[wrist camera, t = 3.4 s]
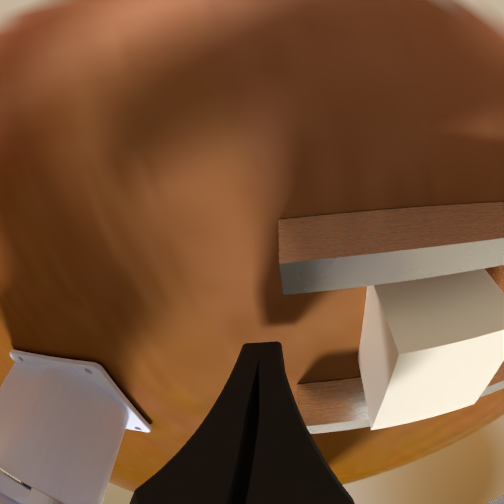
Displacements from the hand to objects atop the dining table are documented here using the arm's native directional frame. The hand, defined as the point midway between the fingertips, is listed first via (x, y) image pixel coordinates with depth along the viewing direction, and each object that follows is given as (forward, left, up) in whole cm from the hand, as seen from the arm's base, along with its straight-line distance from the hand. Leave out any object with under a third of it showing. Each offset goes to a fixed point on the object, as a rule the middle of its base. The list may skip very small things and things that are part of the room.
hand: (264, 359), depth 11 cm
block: (+6, 0, -2) cm, 7 cm away
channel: (+7, 0, -1) cm, 7 cm away
